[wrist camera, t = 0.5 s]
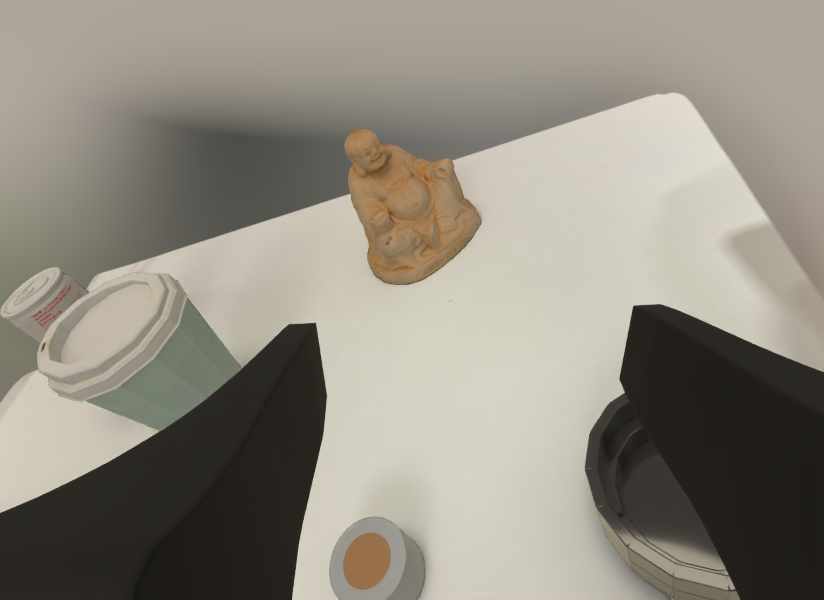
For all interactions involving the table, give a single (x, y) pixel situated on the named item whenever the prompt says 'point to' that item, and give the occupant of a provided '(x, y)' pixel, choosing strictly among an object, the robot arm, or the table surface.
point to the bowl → (650, 511)
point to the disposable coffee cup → (136, 351)
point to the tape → (376, 563)
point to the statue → (407, 209)
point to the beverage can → (41, 301)
